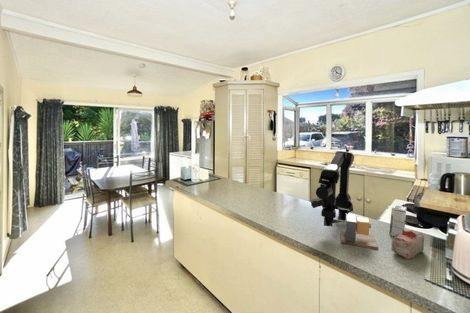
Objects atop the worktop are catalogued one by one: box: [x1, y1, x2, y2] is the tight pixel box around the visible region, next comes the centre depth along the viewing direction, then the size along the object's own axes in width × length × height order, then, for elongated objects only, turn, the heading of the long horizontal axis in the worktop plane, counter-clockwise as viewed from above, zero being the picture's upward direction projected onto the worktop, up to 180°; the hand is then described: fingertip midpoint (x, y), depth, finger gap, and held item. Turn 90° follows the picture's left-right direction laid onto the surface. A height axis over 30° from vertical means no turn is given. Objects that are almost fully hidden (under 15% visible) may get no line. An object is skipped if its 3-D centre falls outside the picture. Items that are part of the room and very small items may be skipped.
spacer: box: [355, 216, 370, 235], centre depth 113 cm, size 6×5×6 cm
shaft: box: [323, 217, 372, 229], centre depth 116 cm, size 4×20×4 cm, turn 67°
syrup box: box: [388, 204, 408, 237], centre depth 119 cm, size 6×6×14 cm
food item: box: [391, 229, 425, 260], centre depth 103 cm, size 14×8×10 cm, turn 121°
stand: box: [340, 213, 379, 250], centre depth 114 cm, size 12×15×11 cm
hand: (328, 224), depth 119 cm, fingers closed on shaft, 4 cm apart
